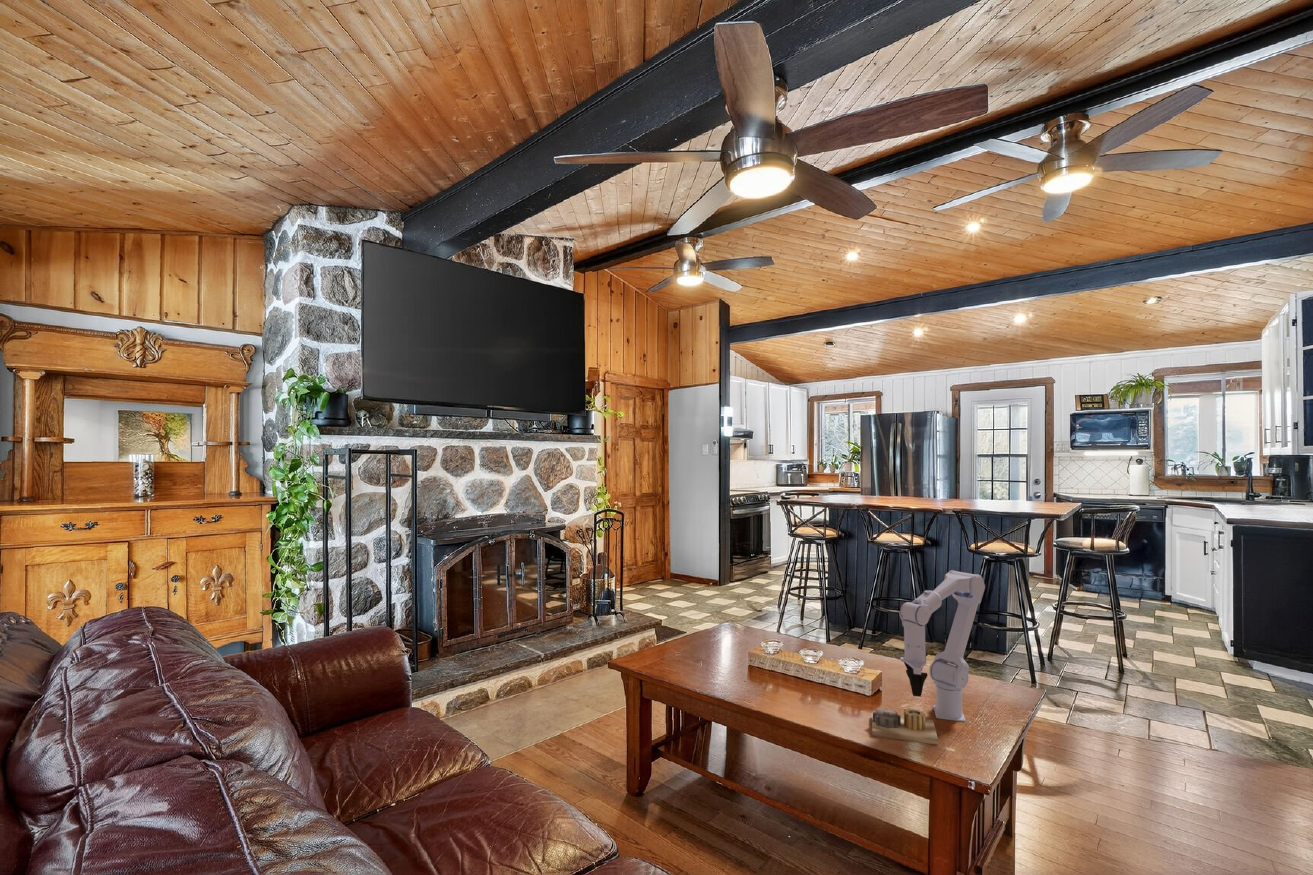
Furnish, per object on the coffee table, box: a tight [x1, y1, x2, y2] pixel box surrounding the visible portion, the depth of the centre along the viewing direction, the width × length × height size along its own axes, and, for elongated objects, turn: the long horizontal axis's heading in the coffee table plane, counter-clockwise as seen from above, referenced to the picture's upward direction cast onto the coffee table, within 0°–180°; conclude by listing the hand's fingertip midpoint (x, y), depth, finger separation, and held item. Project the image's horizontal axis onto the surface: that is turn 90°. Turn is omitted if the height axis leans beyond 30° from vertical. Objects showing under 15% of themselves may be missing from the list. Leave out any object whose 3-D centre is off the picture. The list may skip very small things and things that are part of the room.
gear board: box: [871, 708, 939, 746], centre depth 175 cm, size 13×17×5 cm
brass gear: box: [903, 708, 926, 731], centre depth 174 cm, size 6×6×4 cm
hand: (915, 690), depth 179 cm, fingers open, 7 cm apart
